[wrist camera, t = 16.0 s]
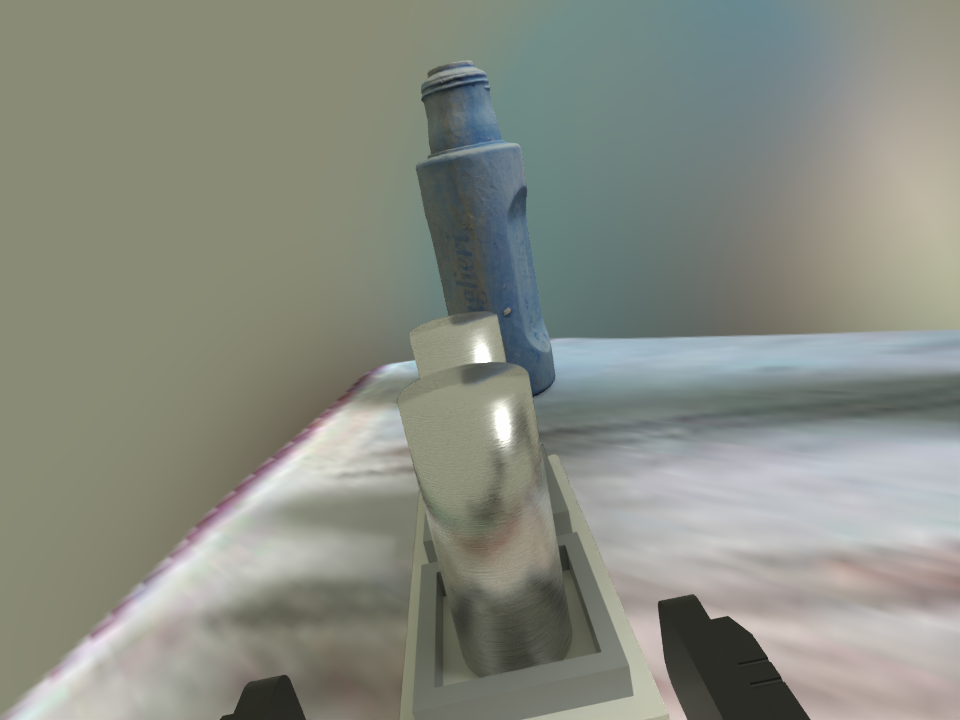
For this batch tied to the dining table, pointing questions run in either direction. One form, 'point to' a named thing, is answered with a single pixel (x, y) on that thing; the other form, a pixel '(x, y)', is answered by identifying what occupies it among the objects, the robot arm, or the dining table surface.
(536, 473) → the billet
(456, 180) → the bottle
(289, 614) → the dining table surface
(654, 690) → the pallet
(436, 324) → the cylinder
